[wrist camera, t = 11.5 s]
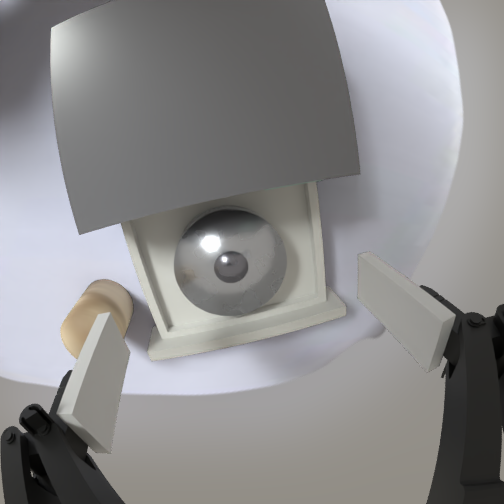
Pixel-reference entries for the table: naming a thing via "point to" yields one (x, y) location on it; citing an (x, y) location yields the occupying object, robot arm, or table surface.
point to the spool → (96, 313)
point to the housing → (196, 103)
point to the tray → (246, 325)
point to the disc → (229, 261)
